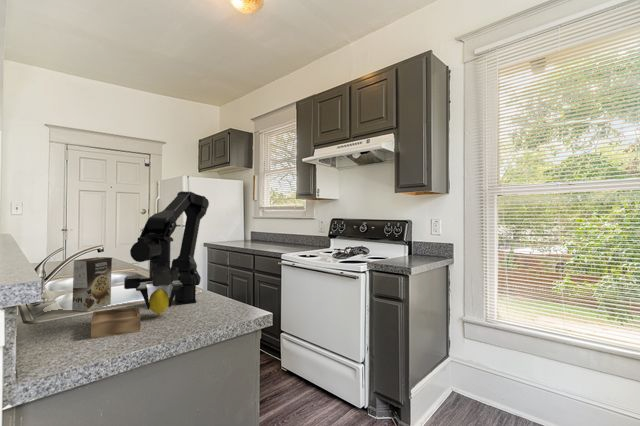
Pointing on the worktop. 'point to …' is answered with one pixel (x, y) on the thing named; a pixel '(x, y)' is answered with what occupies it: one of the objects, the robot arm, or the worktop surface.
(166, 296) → the lemon
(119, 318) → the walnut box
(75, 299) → the cookie box
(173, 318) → the worktop surface
